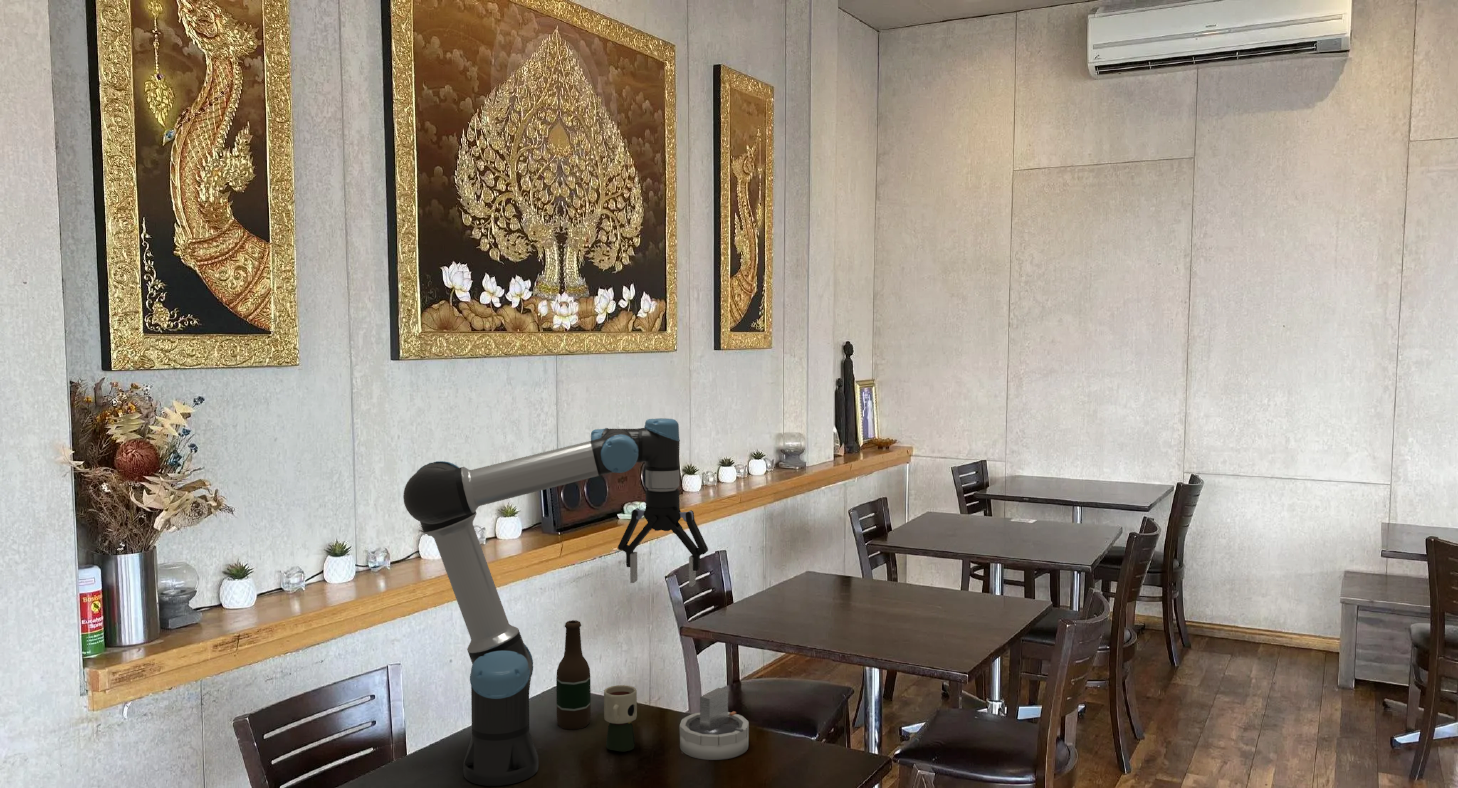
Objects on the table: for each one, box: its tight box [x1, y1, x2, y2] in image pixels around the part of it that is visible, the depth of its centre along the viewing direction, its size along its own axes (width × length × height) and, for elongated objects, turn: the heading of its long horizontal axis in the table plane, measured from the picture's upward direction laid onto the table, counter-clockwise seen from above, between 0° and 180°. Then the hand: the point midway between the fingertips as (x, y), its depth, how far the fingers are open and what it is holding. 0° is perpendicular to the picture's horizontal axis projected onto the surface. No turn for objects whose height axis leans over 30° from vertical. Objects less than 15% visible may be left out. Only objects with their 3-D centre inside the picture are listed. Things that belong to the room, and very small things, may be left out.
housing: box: [679, 710, 750, 761], centre depth 226 cm, size 15×15×5 cm
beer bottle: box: [555, 619, 592, 730], centre depth 238 cm, size 8×8×24 cm
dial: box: [689, 687, 739, 735], centre depth 226 cm, size 11×11×8 cm
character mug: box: [603, 684, 638, 753], centre depth 224 cm, size 11×7×13 cm, turn 173°
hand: (662, 583), depth 230 cm, fingers open, 13 cm apart
